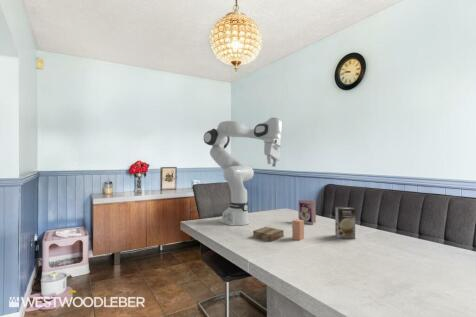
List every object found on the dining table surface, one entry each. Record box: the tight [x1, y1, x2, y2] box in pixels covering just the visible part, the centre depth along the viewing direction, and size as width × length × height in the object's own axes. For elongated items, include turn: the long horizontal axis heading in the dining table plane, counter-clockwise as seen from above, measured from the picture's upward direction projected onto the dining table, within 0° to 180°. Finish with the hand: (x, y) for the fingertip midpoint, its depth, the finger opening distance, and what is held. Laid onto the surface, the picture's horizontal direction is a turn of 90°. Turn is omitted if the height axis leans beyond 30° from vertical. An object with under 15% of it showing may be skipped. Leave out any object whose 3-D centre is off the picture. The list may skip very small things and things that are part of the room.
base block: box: [252, 226, 285, 242], centre depth 147 cm, size 12×12×4 cm
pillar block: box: [291, 218, 305, 241], centre depth 143 cm, size 4×4×10 cm
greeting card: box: [297, 199, 317, 225], centre depth 180 cm, size 11×7×15 cm, turn 43°
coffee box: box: [334, 206, 356, 239], centre depth 146 cm, size 9×6×16 cm
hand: (271, 165), depth 161 cm, fingers open, 8 cm apart
